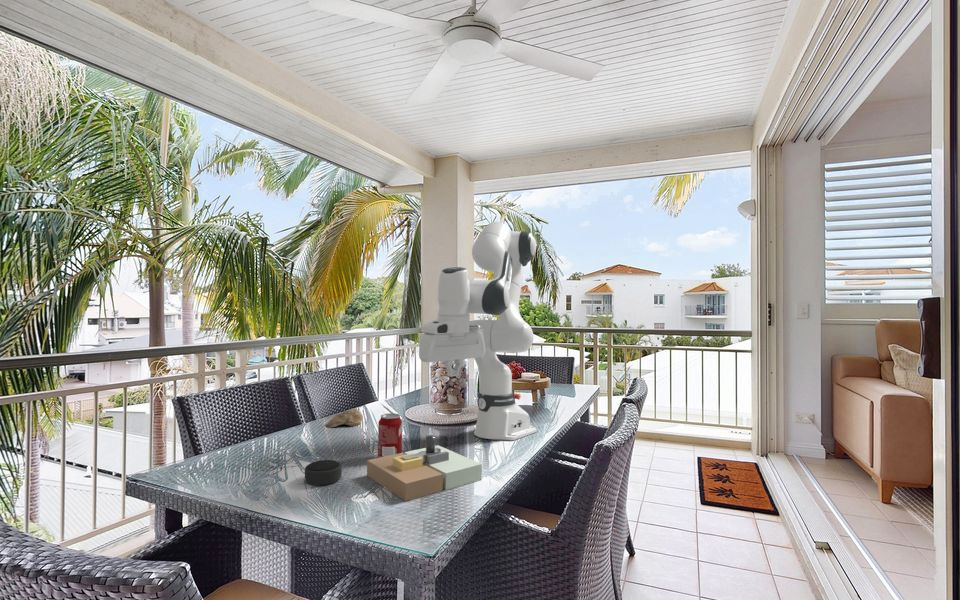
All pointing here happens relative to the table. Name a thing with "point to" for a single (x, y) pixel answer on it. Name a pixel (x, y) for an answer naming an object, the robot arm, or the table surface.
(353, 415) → the oyster shell
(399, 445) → the soda can
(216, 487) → the table surface
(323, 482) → the smart speaker
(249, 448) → the table surface
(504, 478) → the table surface
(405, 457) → the bolt
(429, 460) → the door and jamb
